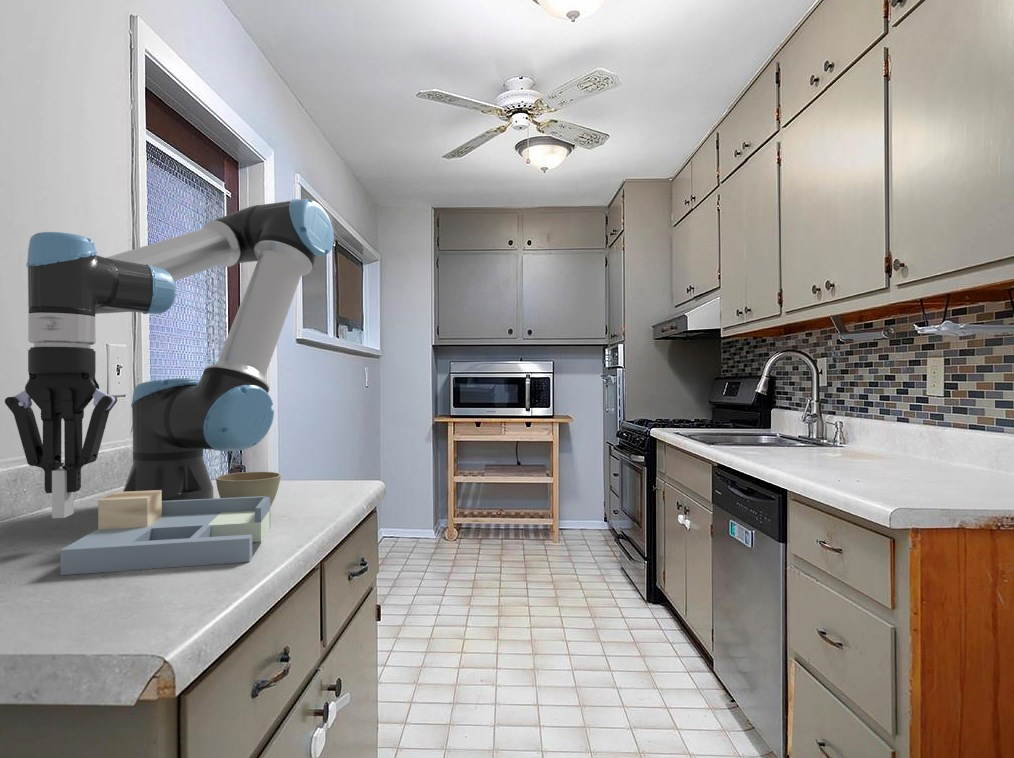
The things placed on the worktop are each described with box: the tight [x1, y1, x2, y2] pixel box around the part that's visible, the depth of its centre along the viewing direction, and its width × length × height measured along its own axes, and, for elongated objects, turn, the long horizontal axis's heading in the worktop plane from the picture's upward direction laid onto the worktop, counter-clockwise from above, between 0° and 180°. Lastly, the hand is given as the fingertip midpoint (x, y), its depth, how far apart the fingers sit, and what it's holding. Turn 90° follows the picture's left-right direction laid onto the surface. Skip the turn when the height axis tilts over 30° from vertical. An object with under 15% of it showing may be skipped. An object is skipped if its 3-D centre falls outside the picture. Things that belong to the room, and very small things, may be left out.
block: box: [97, 490, 162, 530], centre depth 84 cm, size 6×6×4 cm
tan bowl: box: [215, 471, 282, 508], centre depth 100 cm, size 10×10×7 cm
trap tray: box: [60, 496, 271, 576], centre depth 82 cm, size 18×21×5 cm
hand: (63, 515), depth 83 cm, fingers closed
